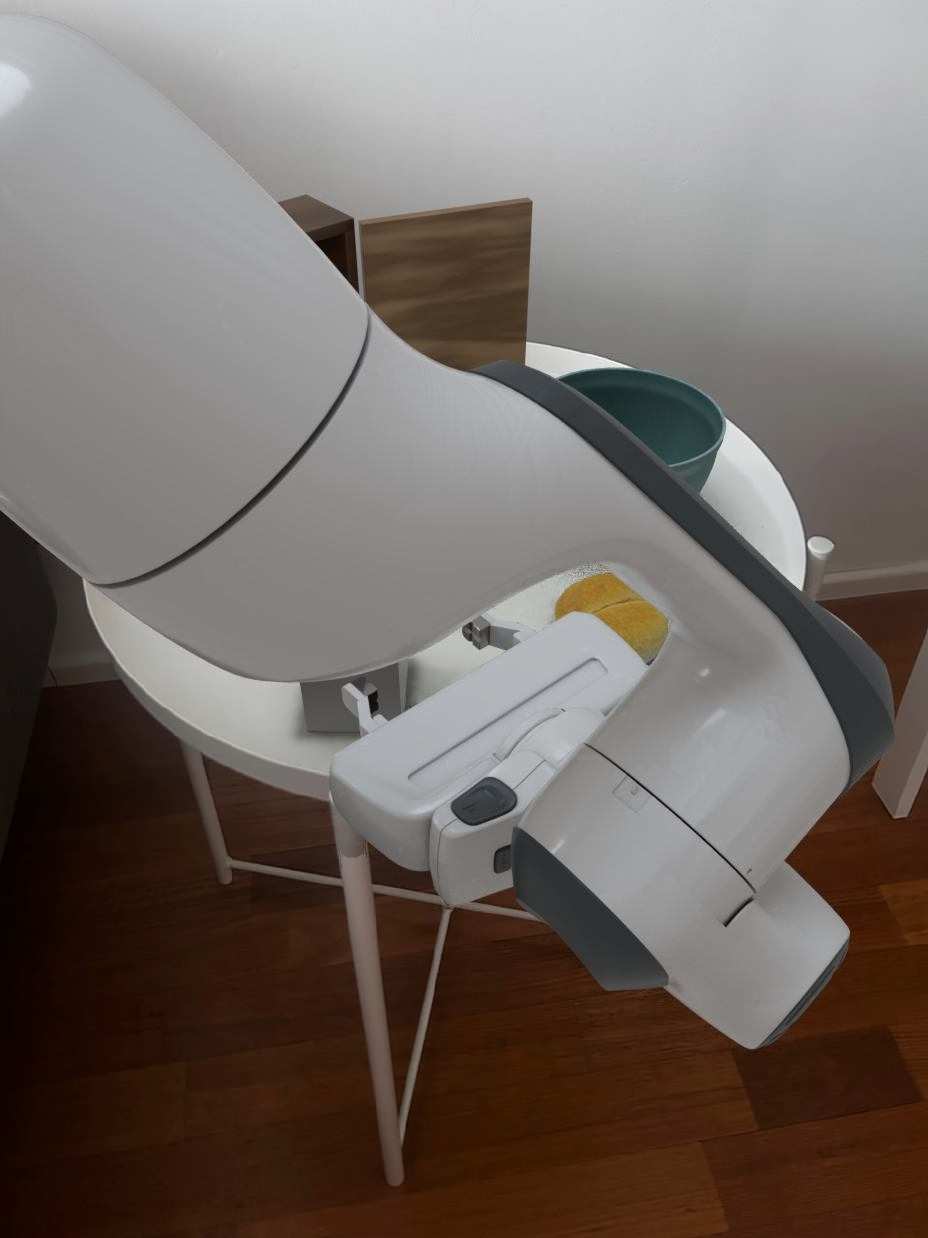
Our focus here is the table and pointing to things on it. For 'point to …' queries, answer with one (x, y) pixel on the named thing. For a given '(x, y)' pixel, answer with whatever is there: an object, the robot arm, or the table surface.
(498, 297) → the cupboard door
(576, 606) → the bread roll
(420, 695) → the table surface
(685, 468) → the flower pot
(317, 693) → the perfume bottle
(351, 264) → the cupboard
